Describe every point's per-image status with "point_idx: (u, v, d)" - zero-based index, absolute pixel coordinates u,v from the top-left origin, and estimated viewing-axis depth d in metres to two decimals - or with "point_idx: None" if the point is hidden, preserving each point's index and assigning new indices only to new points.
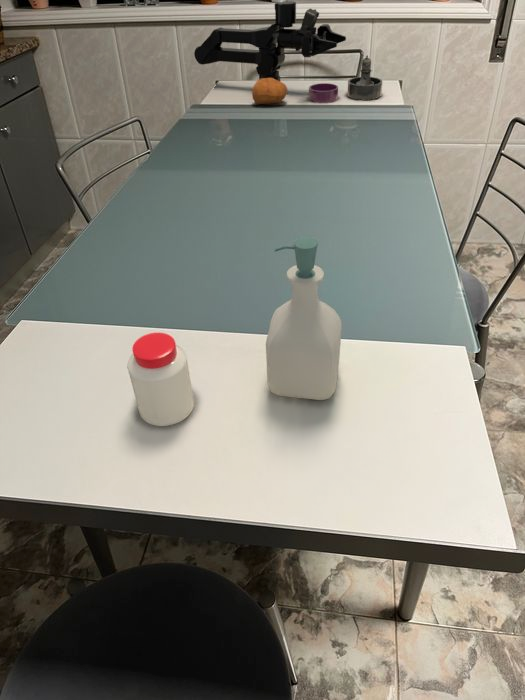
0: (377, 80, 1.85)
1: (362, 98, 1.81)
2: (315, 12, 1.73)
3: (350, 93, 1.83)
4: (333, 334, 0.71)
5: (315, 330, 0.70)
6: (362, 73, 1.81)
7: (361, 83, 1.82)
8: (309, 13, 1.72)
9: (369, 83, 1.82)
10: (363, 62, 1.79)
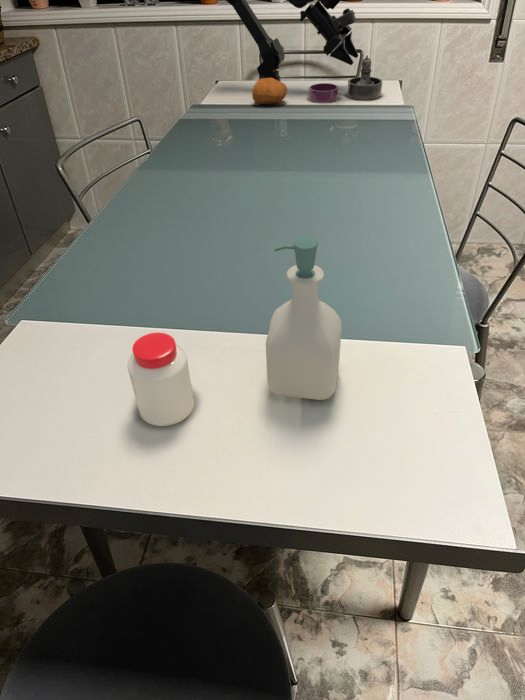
0: (377, 80, 1.85)
1: (362, 98, 1.81)
2: (354, 18, 1.73)
3: (350, 93, 1.83)
4: (333, 334, 0.71)
5: (315, 330, 0.70)
6: (362, 73, 1.81)
7: (361, 83, 1.82)
8: (351, 17, 1.71)
9: (369, 83, 1.82)
10: (363, 62, 1.79)
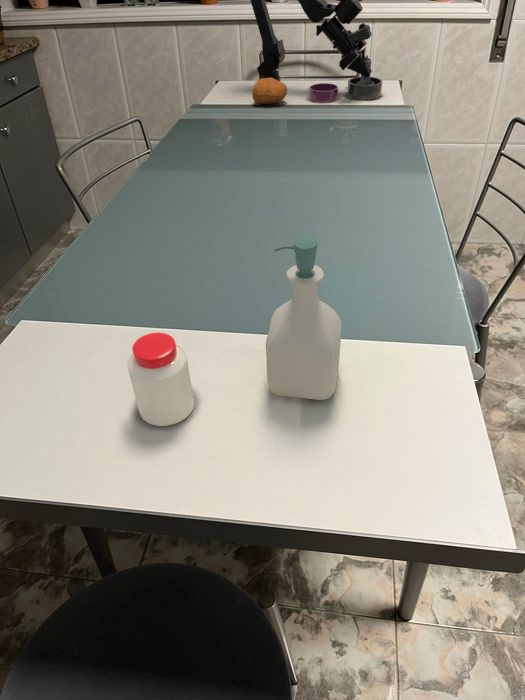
0: (377, 80, 1.85)
1: (362, 98, 1.81)
2: (370, 33, 1.74)
3: (350, 93, 1.83)
4: (333, 334, 0.71)
5: (315, 330, 0.70)
6: None
7: (361, 83, 1.82)
8: (367, 32, 1.72)
9: (369, 83, 1.82)
10: (363, 62, 1.79)
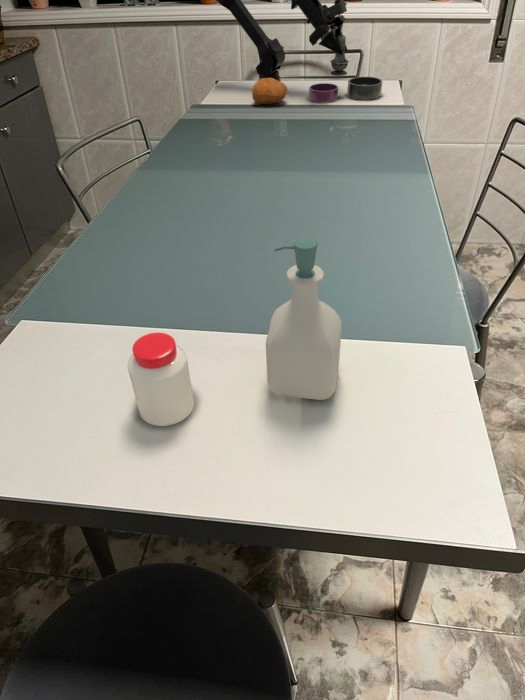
0: (377, 80, 1.85)
1: (362, 98, 1.81)
2: (344, 9, 1.69)
3: (350, 93, 1.83)
4: (333, 334, 0.71)
5: (315, 330, 0.70)
6: None
7: (335, 61, 1.77)
8: (339, 7, 1.67)
9: (343, 61, 1.76)
10: (337, 39, 1.74)
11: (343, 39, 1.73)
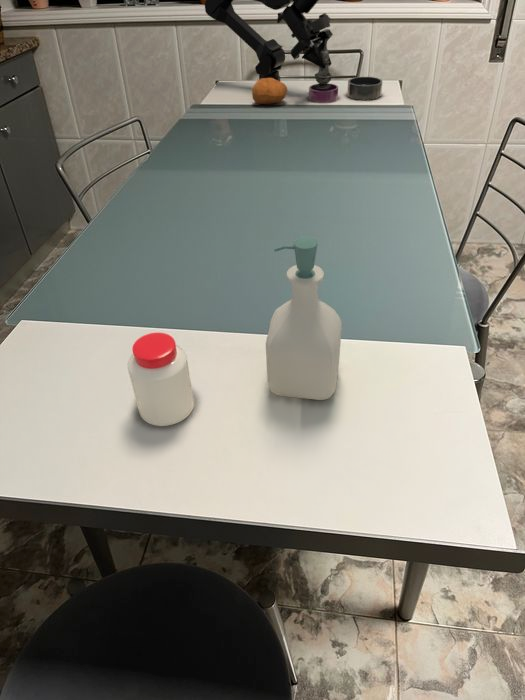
0: (377, 80, 1.85)
1: (362, 98, 1.81)
2: (327, 24, 1.71)
3: (350, 93, 1.83)
4: (333, 334, 0.71)
5: (315, 330, 0.70)
6: None
7: (318, 74, 1.79)
8: (321, 22, 1.69)
9: (326, 75, 1.79)
10: (320, 53, 1.76)
11: (326, 53, 1.75)
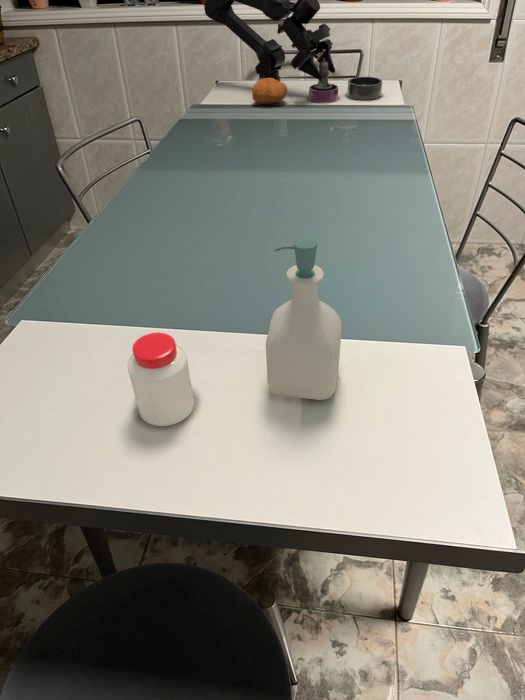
0: (377, 80, 1.85)
1: (362, 98, 1.81)
2: (327, 34, 1.73)
3: (350, 93, 1.83)
4: (333, 334, 0.71)
5: (315, 330, 0.70)
6: None
7: (318, 86, 1.82)
8: (321, 32, 1.71)
9: (325, 86, 1.81)
10: (319, 65, 1.78)
11: (325, 65, 1.78)
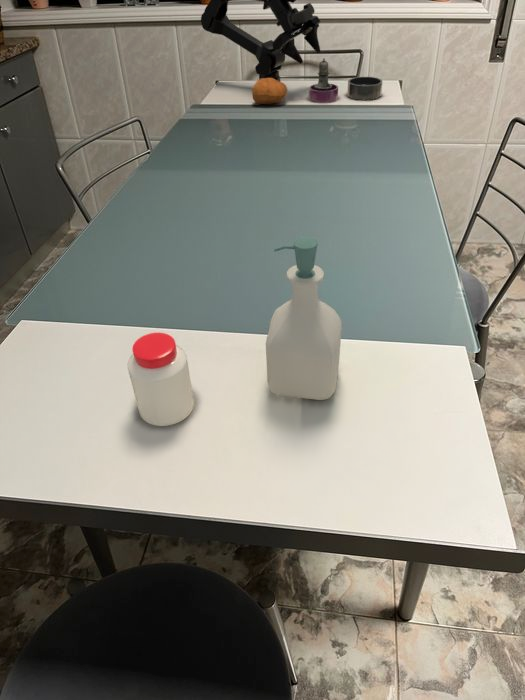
0: (377, 80, 1.85)
1: (362, 98, 1.81)
2: (309, 17, 1.71)
3: (350, 93, 1.83)
4: (333, 334, 0.71)
5: (315, 330, 0.70)
6: (319, 76, 1.80)
7: (318, 86, 1.82)
8: (302, 16, 1.70)
9: (325, 86, 1.81)
10: (319, 65, 1.78)
11: (325, 65, 1.78)
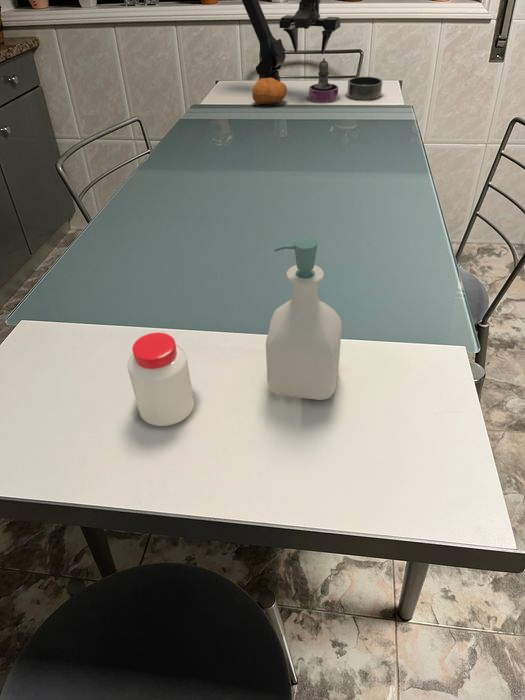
0: (377, 80, 1.85)
1: (362, 98, 1.81)
2: (301, 26, 1.69)
3: (350, 93, 1.83)
4: (333, 334, 0.71)
5: (315, 330, 0.70)
6: (319, 76, 1.80)
7: (318, 86, 1.82)
8: (294, 21, 1.69)
9: (325, 86, 1.81)
10: (319, 65, 1.78)
11: (325, 65, 1.78)
